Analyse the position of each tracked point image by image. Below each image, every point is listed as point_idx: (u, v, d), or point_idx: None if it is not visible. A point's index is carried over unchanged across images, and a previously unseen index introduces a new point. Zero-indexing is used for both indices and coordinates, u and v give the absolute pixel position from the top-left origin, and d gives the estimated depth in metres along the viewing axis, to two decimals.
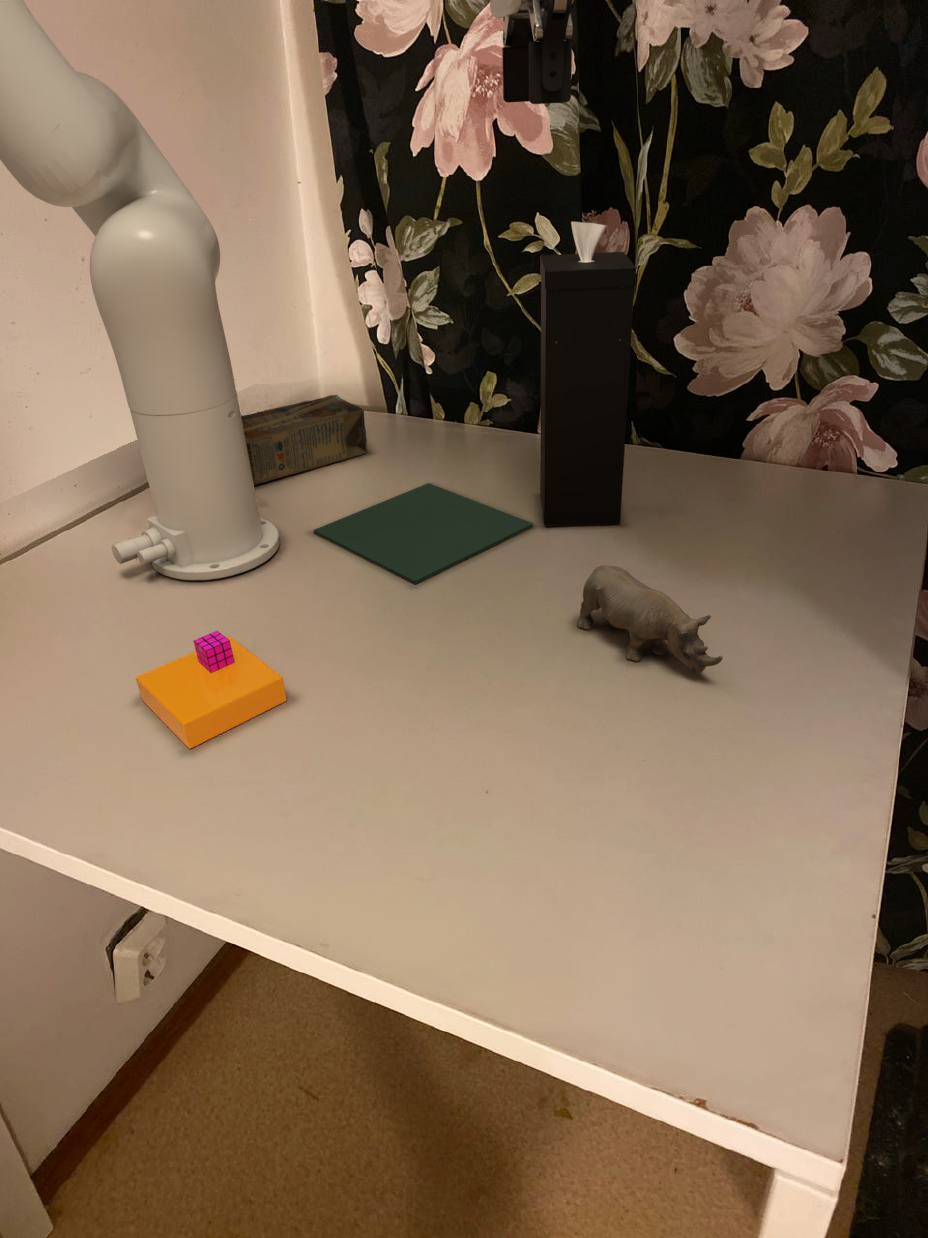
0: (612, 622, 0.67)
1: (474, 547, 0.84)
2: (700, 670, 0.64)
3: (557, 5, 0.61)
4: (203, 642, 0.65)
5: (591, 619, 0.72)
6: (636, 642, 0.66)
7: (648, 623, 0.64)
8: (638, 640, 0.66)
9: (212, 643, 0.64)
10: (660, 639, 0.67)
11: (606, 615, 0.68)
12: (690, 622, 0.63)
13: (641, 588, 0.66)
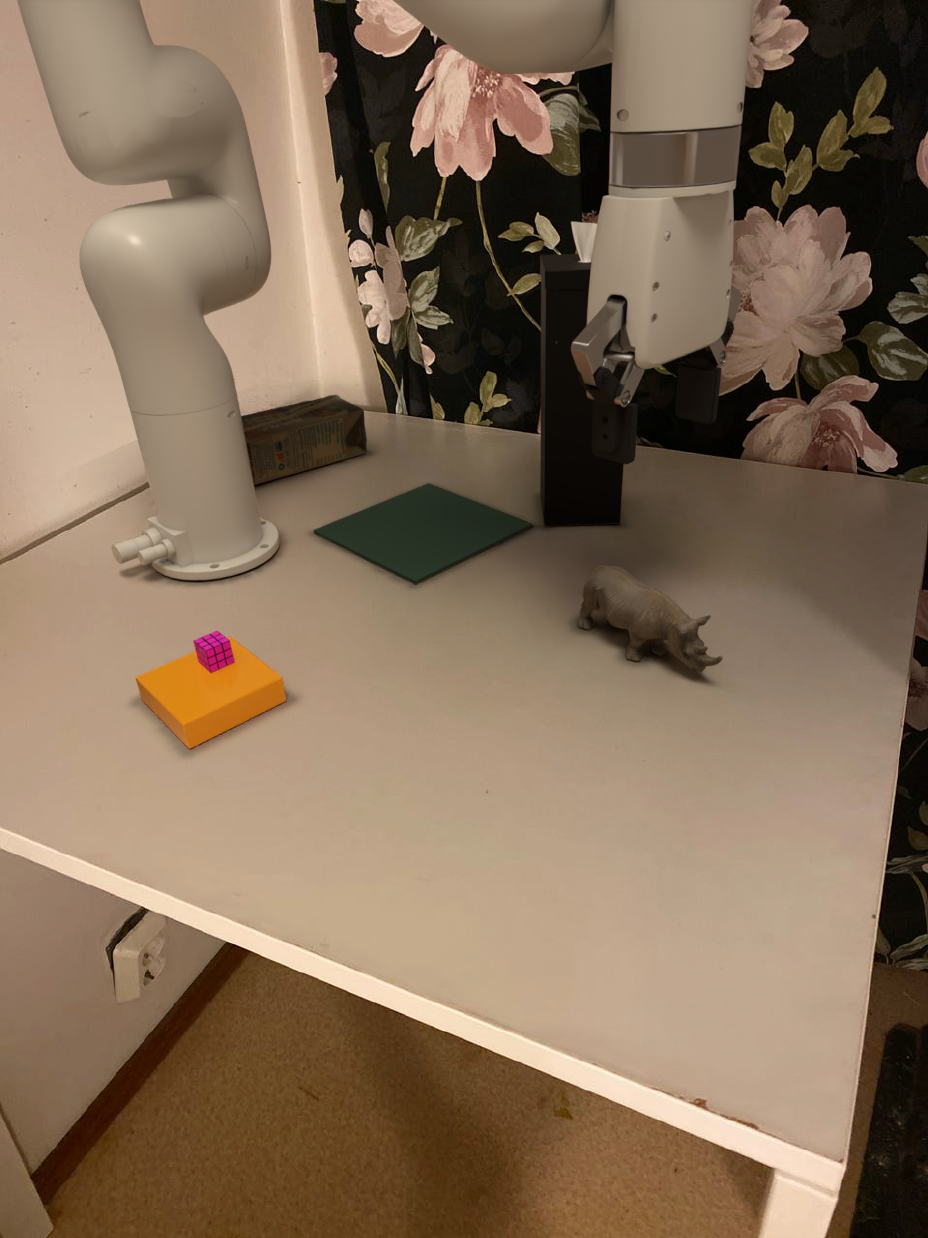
0: (612, 622, 0.67)
1: (474, 547, 0.84)
2: (700, 670, 0.64)
3: (585, 379, 0.53)
4: (203, 642, 0.65)
5: (591, 619, 0.72)
6: (636, 642, 0.66)
7: (648, 623, 0.64)
8: (638, 640, 0.66)
9: (212, 643, 0.64)
10: (660, 639, 0.67)
11: (606, 615, 0.68)
12: (690, 622, 0.63)
13: (641, 588, 0.66)
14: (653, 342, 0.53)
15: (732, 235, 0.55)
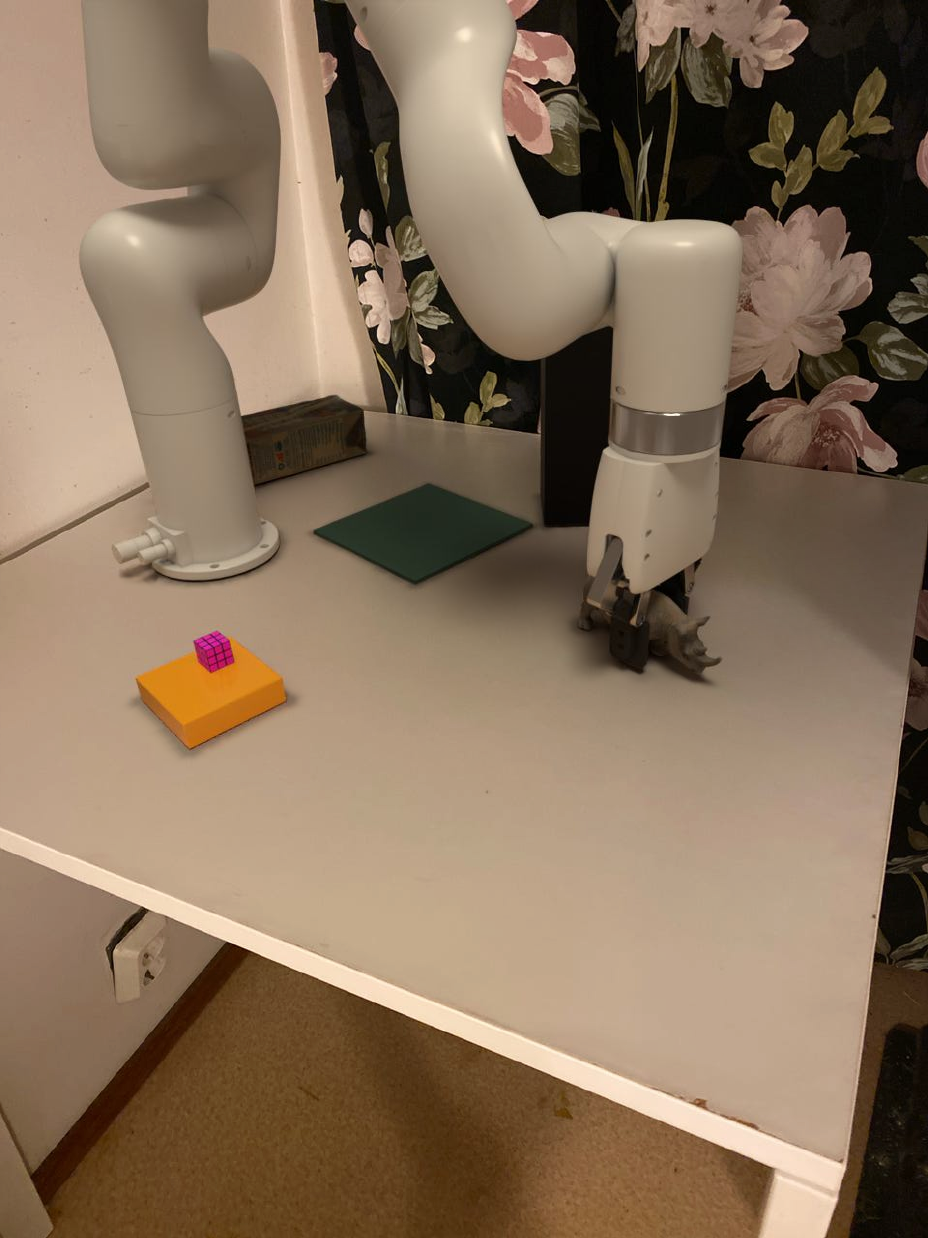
0: None
1: (474, 547, 0.84)
2: (700, 671, 0.64)
3: None
4: (203, 642, 0.65)
5: (591, 619, 0.72)
6: None
7: None
8: None
9: (212, 643, 0.64)
10: (660, 639, 0.67)
11: (606, 616, 0.68)
12: (689, 623, 0.63)
13: None
14: (646, 575, 0.60)
15: (717, 473, 0.62)
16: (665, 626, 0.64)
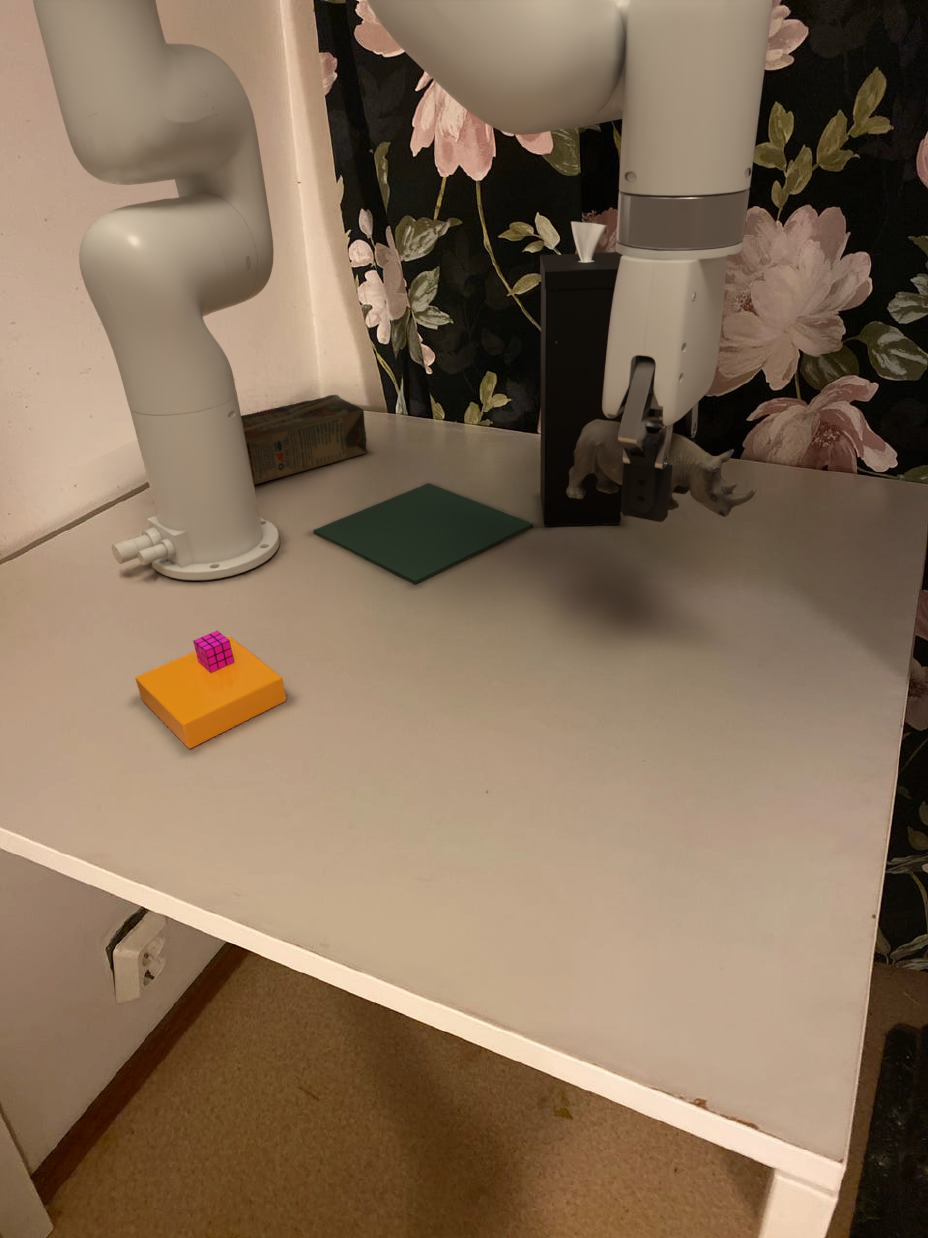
0: (619, 478, 0.60)
1: (474, 547, 0.84)
2: (728, 512, 0.58)
3: (632, 451, 0.55)
4: (203, 642, 0.65)
5: (582, 487, 0.64)
6: None
7: None
8: None
9: (212, 643, 0.64)
10: (670, 491, 0.61)
11: (611, 472, 0.60)
12: (714, 459, 0.57)
13: (649, 434, 0.59)
14: (678, 400, 0.53)
15: (724, 289, 0.56)
16: (687, 467, 0.58)
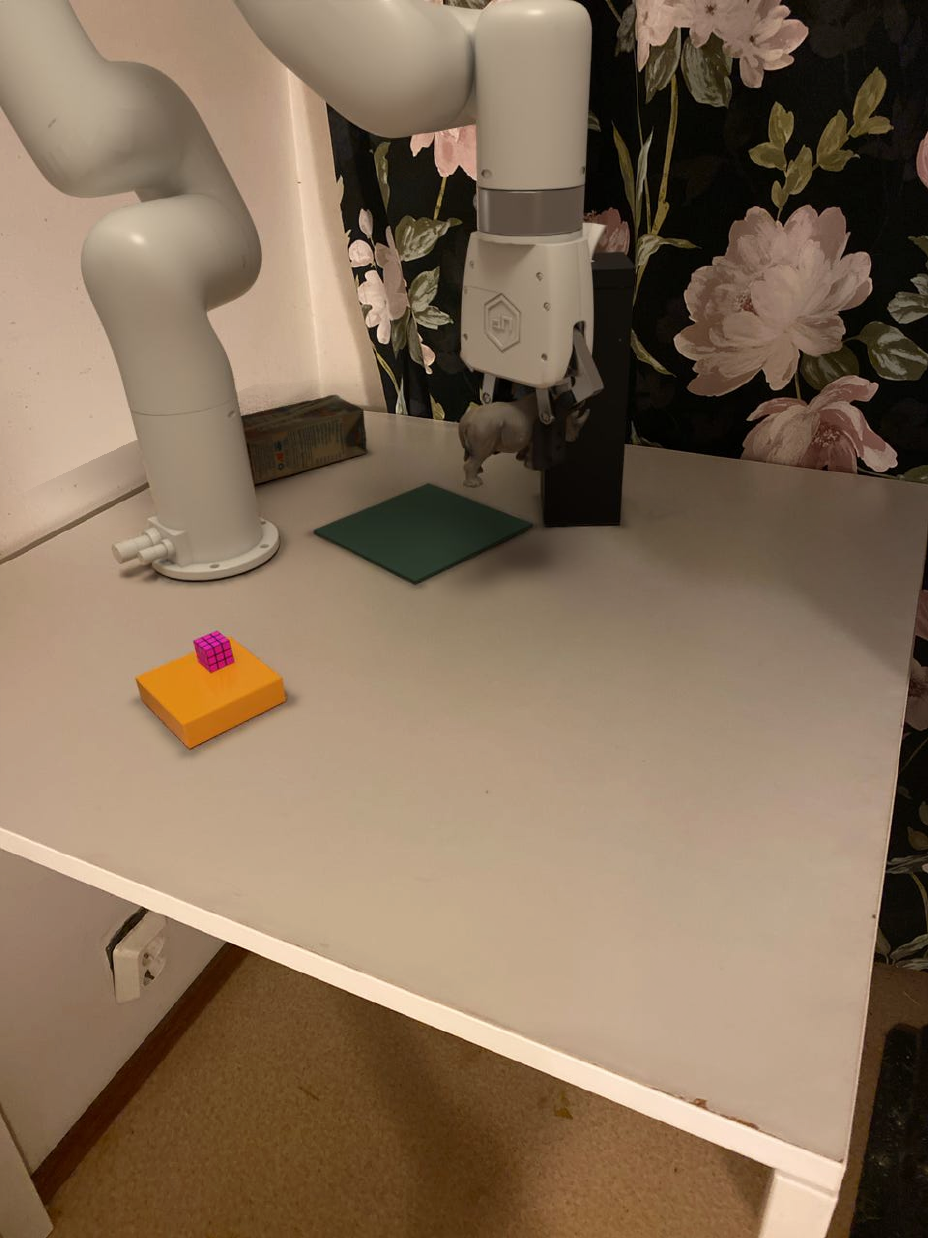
0: (523, 445, 0.67)
1: (474, 547, 0.84)
2: None
3: (575, 404, 0.65)
4: (203, 642, 0.65)
5: None
6: None
7: None
8: None
9: (212, 643, 0.64)
10: None
11: (517, 443, 0.67)
12: None
13: (520, 400, 0.68)
14: None
15: None
16: None
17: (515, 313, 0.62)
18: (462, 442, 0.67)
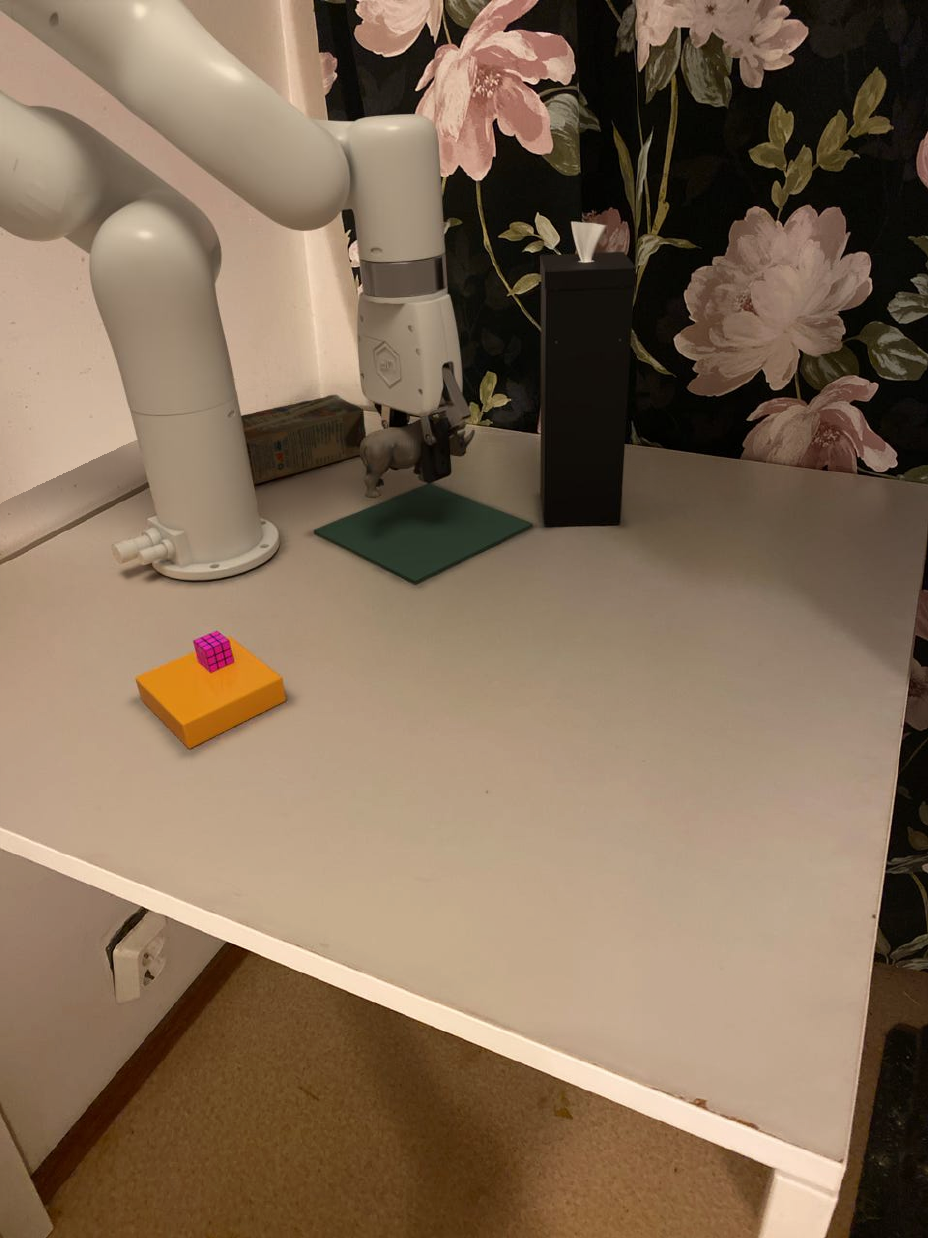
0: (413, 462, 0.82)
1: (474, 547, 0.84)
2: None
3: (451, 428, 0.79)
4: (203, 642, 0.65)
5: None
6: None
7: None
8: None
9: (212, 643, 0.64)
10: None
11: (408, 460, 0.82)
12: None
13: (411, 425, 0.82)
14: None
15: None
16: None
17: (396, 357, 0.77)
18: (363, 461, 0.82)
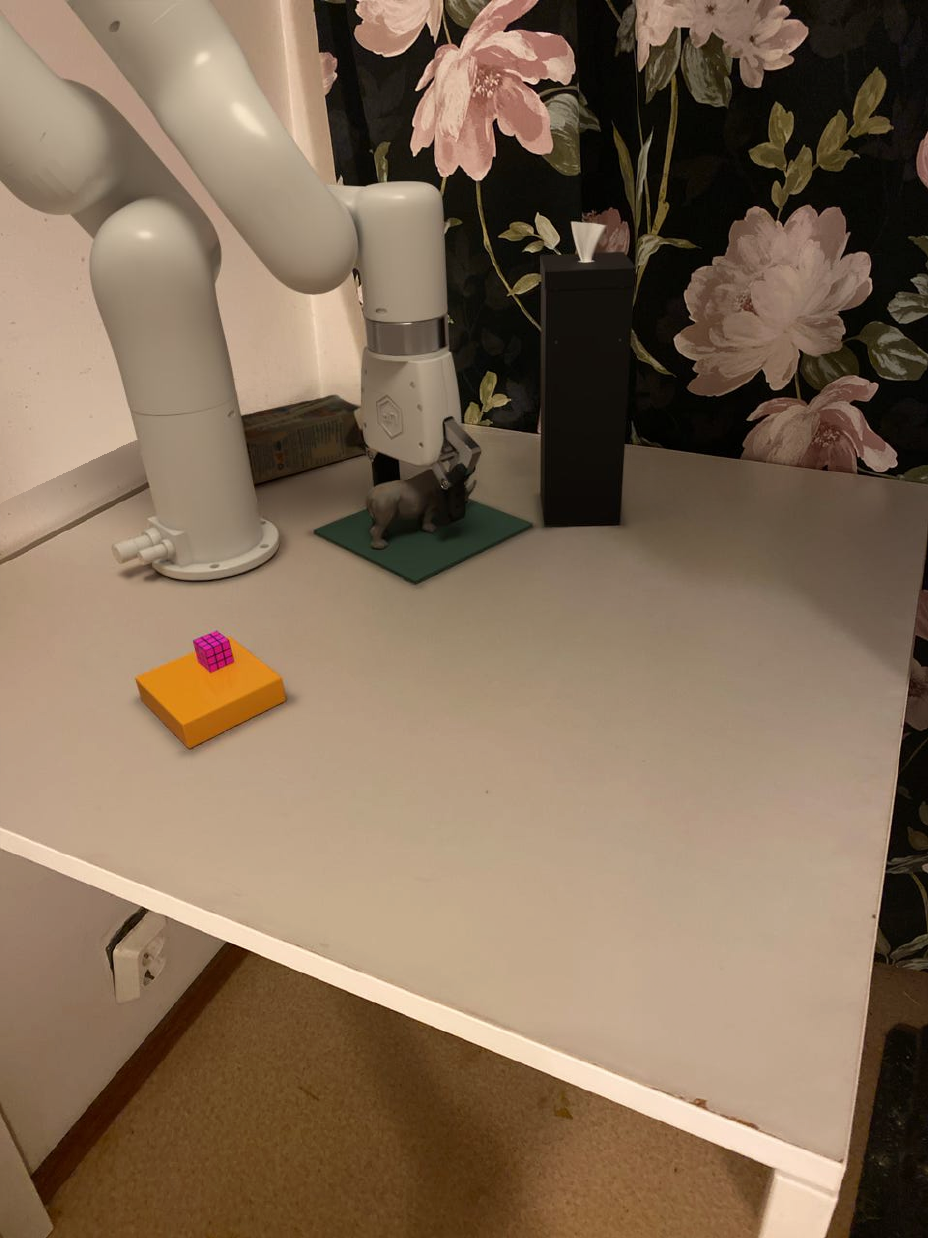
0: (418, 513, 0.85)
1: (474, 547, 0.84)
2: None
3: (468, 471, 0.79)
4: (202, 642, 0.65)
5: None
6: (434, 514, 0.87)
7: None
8: (436, 510, 0.87)
9: (211, 643, 0.64)
10: None
11: (412, 512, 0.84)
12: None
13: (415, 478, 0.85)
14: None
15: None
16: None
17: (398, 411, 0.79)
18: (369, 512, 0.85)
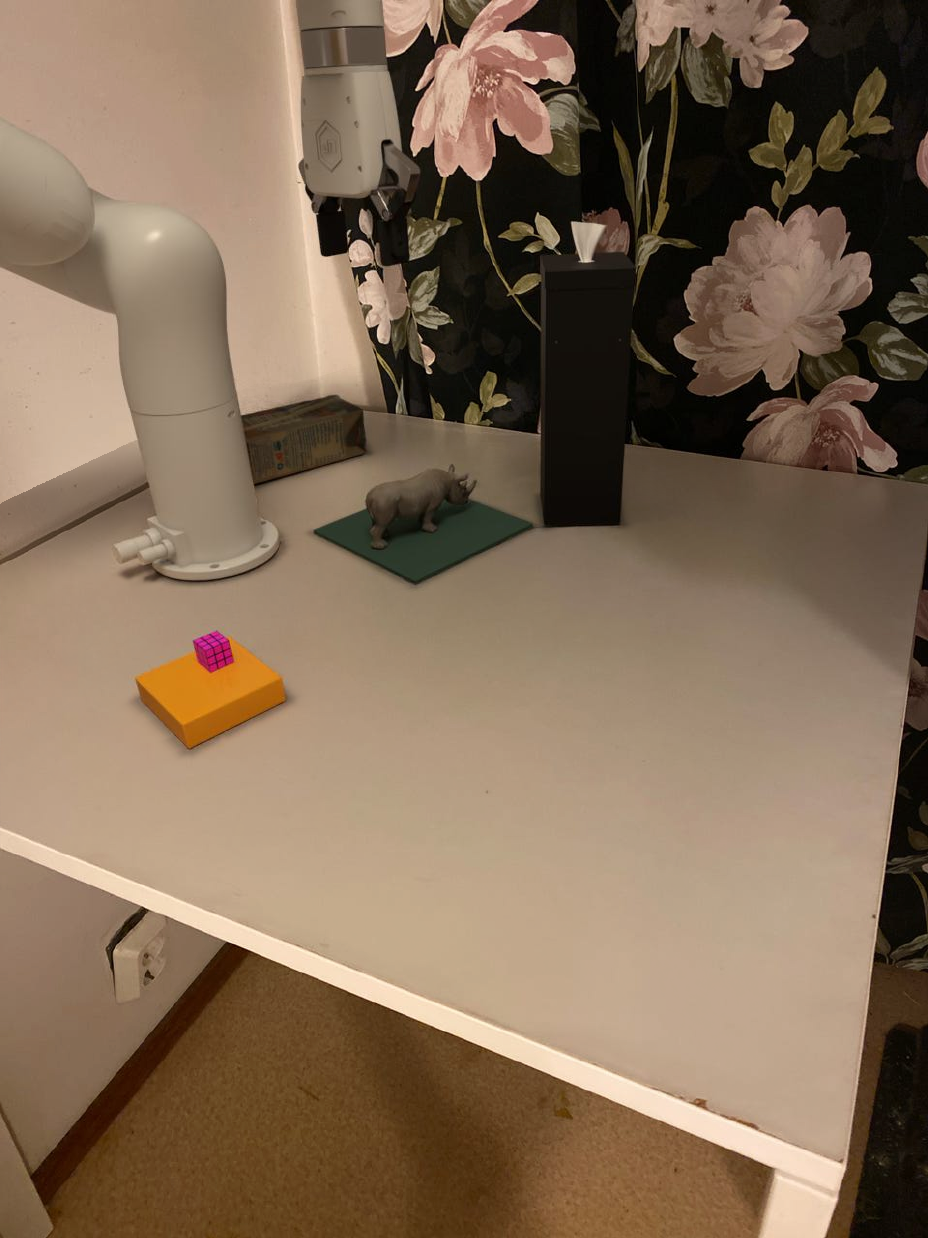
0: (418, 513, 0.85)
1: (474, 547, 0.84)
2: None
3: (408, 197, 0.78)
4: (202, 642, 0.65)
5: None
6: (434, 514, 0.87)
7: (442, 490, 0.86)
8: (436, 510, 0.87)
9: (211, 643, 0.64)
10: None
11: (412, 512, 0.84)
12: (453, 473, 0.88)
13: (415, 478, 0.85)
14: None
15: None
16: (449, 484, 0.87)
17: (336, 135, 0.78)
18: (369, 513, 0.85)
